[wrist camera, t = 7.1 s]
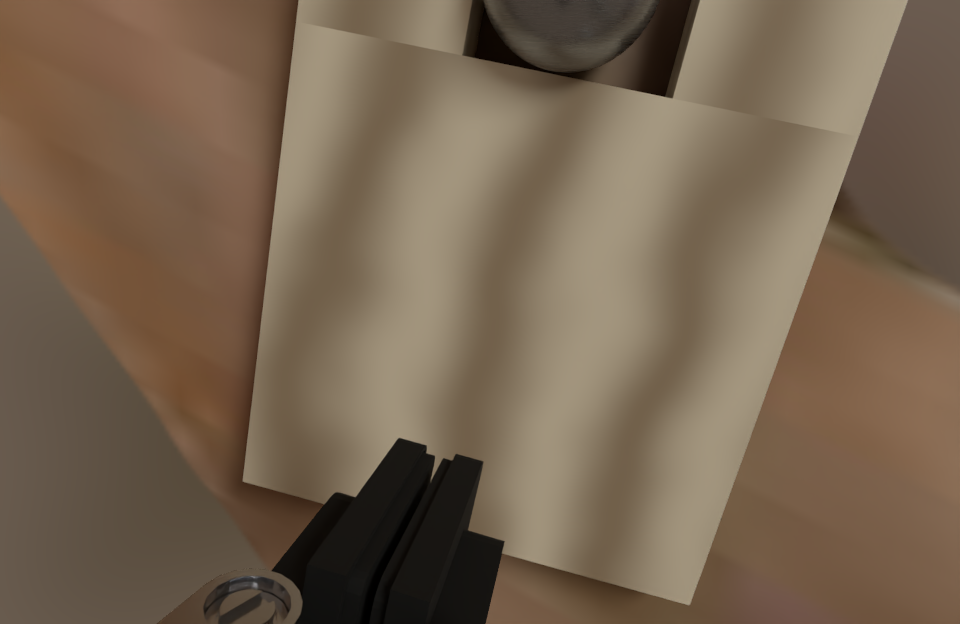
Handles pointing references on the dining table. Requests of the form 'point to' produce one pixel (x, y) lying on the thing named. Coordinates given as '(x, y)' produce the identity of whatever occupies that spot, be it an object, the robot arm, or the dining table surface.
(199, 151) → the dining table surface
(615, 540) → the runway board
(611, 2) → the ball
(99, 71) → the dining table surface
